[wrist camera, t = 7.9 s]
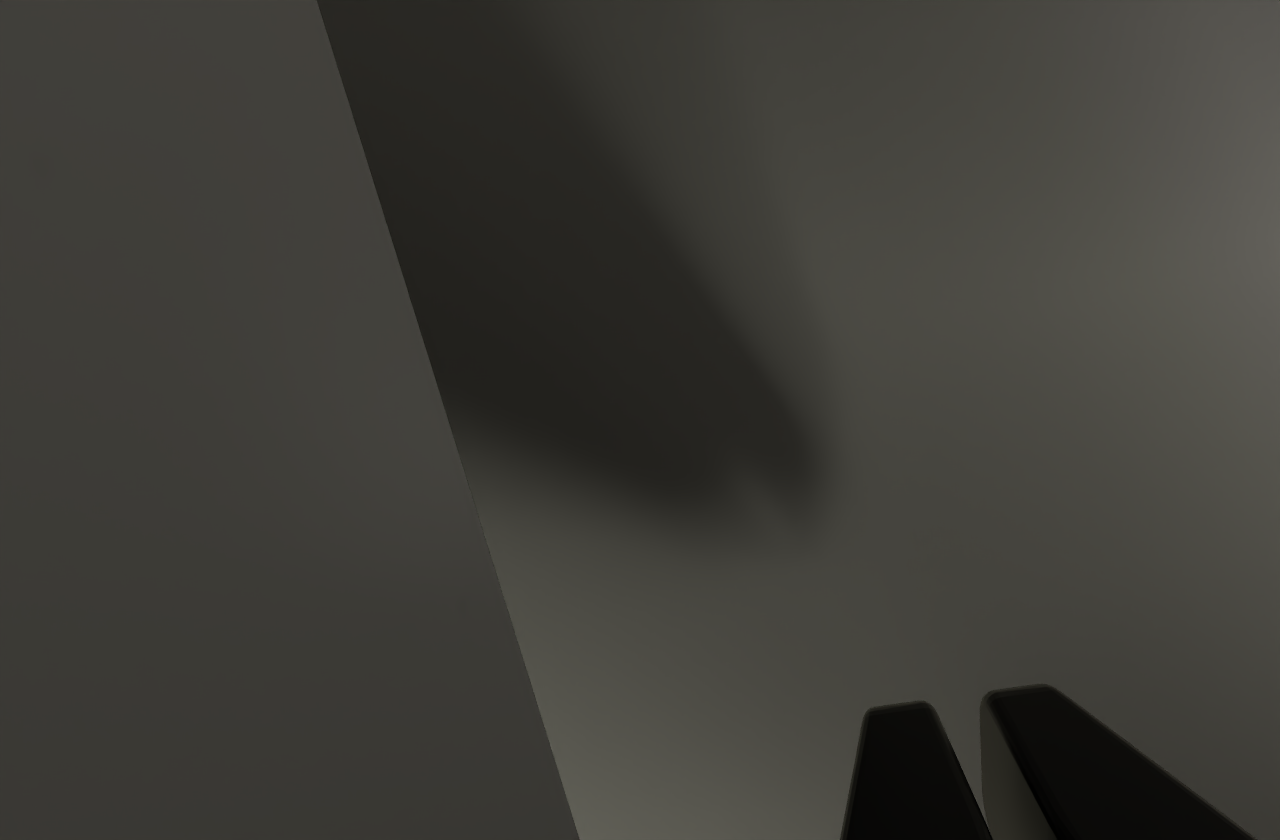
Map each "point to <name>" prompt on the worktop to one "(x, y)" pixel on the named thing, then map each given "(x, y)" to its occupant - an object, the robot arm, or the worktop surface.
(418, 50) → the worktop surface
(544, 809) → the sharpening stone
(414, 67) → the worktop surface
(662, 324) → the worktop surface
